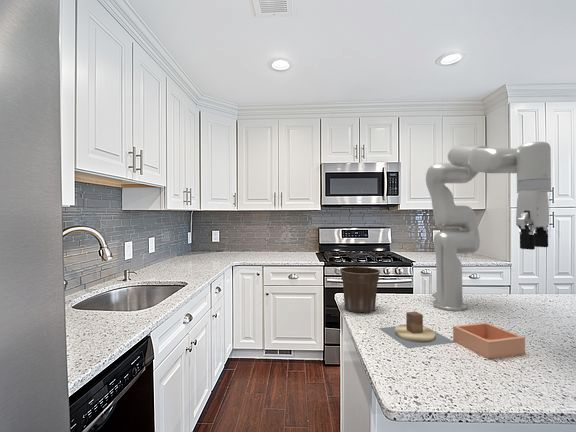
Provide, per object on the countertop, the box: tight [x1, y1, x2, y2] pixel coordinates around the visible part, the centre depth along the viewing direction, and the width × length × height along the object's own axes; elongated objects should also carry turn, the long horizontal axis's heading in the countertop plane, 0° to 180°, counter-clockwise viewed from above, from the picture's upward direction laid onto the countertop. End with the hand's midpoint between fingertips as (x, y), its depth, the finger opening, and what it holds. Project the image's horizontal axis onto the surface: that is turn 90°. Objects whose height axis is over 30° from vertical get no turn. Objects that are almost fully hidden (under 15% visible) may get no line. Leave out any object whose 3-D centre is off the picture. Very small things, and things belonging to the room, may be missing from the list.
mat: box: [378, 325, 457, 349], centre depth 95 cm, size 16×16×1 cm
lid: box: [395, 310, 436, 342], centre depth 95 cm, size 12×12×7 cm
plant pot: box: [339, 266, 381, 314], centre depth 125 cm, size 16×16×16 cm
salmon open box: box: [452, 322, 526, 360], centre depth 86 cm, size 12×12×5 cm
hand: (534, 247), depth 85 cm, fingers open, 9 cm apart
